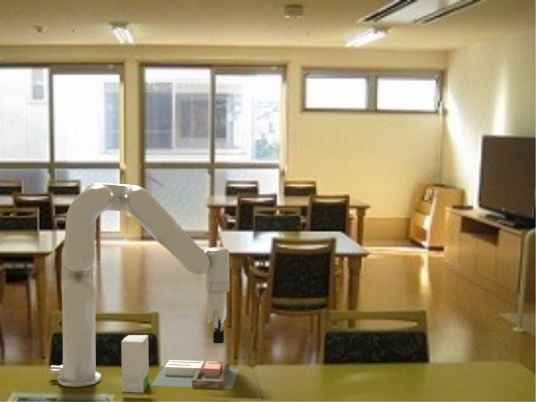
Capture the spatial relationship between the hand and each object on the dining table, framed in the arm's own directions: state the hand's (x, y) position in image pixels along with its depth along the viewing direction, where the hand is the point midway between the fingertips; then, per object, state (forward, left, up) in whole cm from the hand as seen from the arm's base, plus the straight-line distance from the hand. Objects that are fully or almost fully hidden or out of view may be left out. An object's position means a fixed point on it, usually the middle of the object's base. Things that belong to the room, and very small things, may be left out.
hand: (218, 342), depth 223 cm
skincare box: (-21, -23, -9) cm, 32 cm away
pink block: (-1, -8, -7) cm, 11 cm away
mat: (-5, -12, -8) cm, 16 cm away
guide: (0, -13, -7) cm, 15 cm away
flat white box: (-10, -8, -7) cm, 14 cm away
